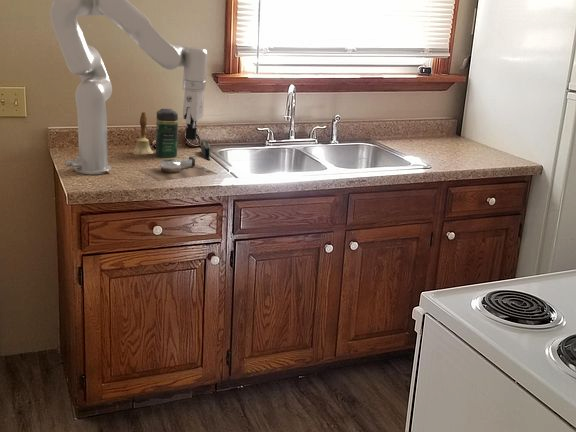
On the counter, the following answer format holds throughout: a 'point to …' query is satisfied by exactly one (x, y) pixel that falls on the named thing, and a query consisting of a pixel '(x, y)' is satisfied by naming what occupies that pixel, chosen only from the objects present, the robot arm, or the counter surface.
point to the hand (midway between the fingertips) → (190, 138)
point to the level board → (178, 173)
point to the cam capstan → (176, 164)
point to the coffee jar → (166, 133)
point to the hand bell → (142, 139)
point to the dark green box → (205, 150)
